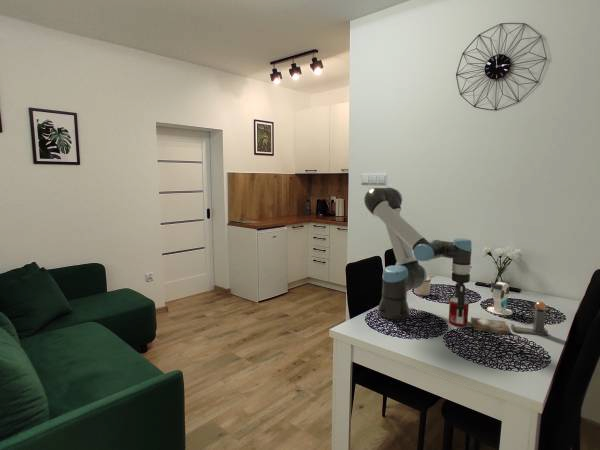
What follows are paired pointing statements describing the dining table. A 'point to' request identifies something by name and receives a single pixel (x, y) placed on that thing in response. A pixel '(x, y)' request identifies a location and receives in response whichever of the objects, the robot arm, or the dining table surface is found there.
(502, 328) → the plate
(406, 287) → the robot arm
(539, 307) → the press lever
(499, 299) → the panda figurine
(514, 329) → the lever rail
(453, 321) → the canned food
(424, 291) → the teacup with lid
